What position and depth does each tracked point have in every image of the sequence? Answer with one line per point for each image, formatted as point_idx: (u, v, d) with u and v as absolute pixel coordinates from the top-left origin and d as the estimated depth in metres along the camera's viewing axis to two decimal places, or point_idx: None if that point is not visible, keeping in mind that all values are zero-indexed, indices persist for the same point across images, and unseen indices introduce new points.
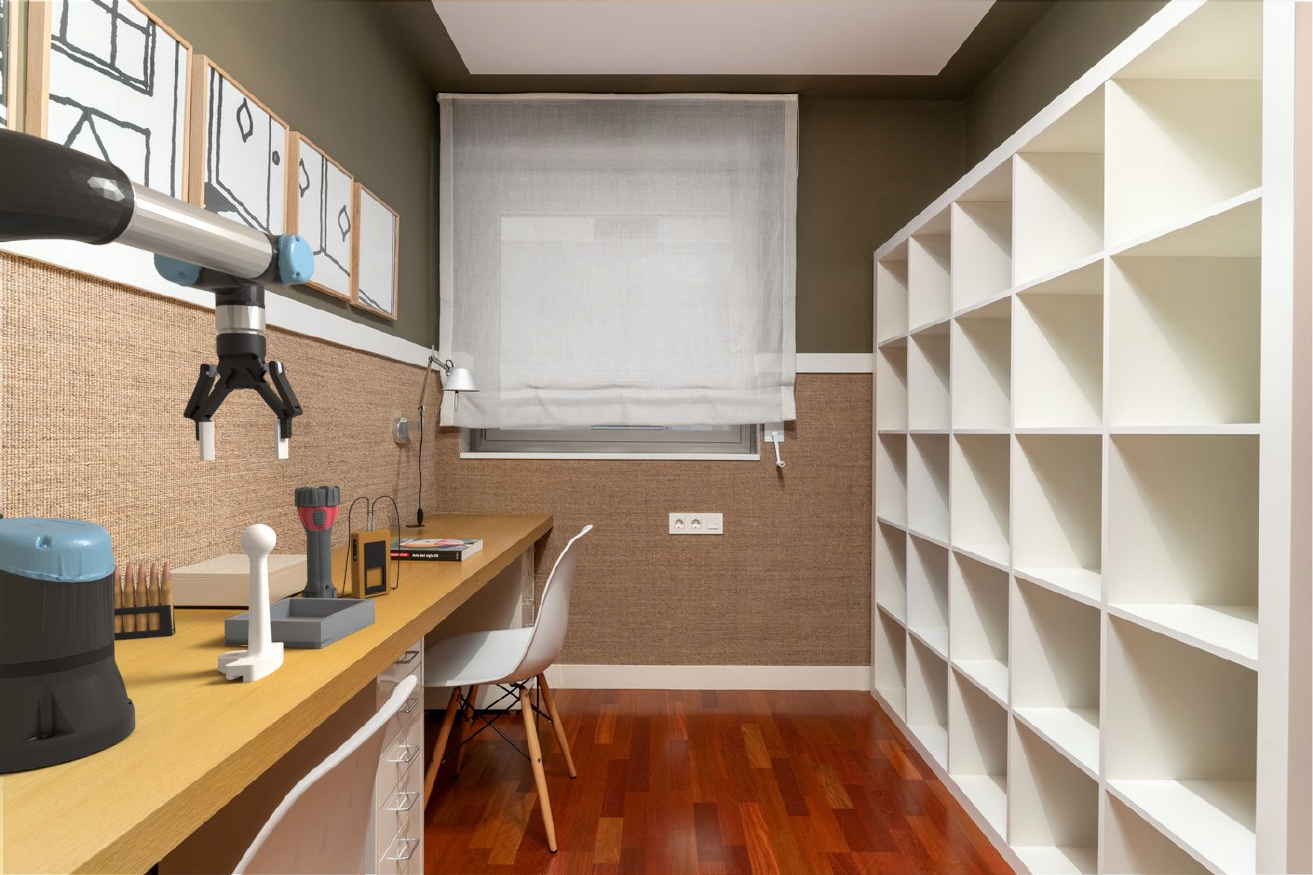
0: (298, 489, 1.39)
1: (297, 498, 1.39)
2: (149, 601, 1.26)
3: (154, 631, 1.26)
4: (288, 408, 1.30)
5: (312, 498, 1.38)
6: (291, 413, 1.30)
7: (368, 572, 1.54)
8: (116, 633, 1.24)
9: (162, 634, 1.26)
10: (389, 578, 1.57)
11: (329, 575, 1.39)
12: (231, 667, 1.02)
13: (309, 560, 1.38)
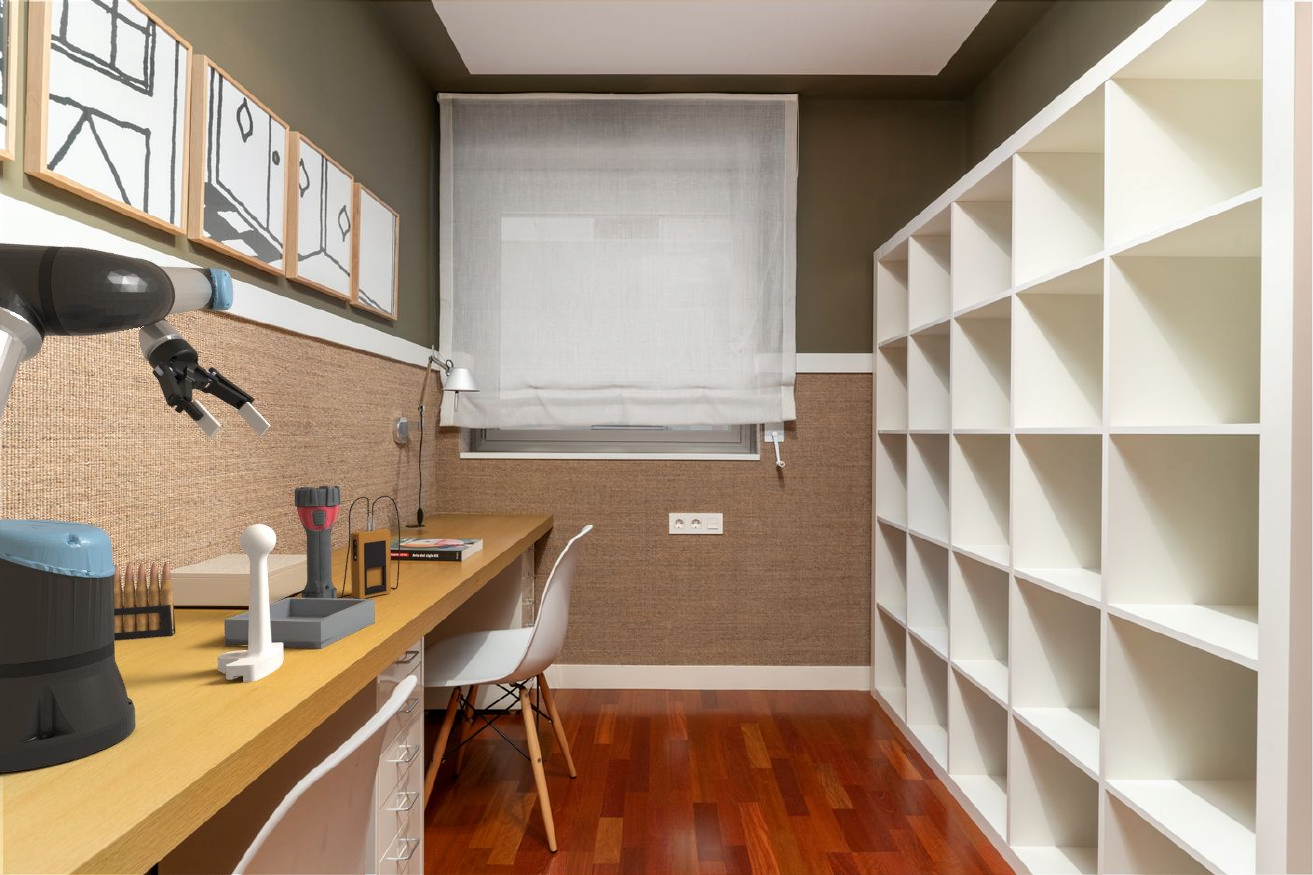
0: (298, 489, 1.39)
1: (297, 498, 1.39)
2: (149, 601, 1.26)
3: (154, 631, 1.26)
4: (248, 396, 1.53)
5: (312, 498, 1.38)
6: (253, 399, 1.54)
7: (368, 572, 1.54)
8: (116, 633, 1.24)
9: (162, 634, 1.26)
10: (389, 578, 1.57)
11: (329, 575, 1.39)
12: (231, 667, 1.02)
13: (309, 560, 1.38)
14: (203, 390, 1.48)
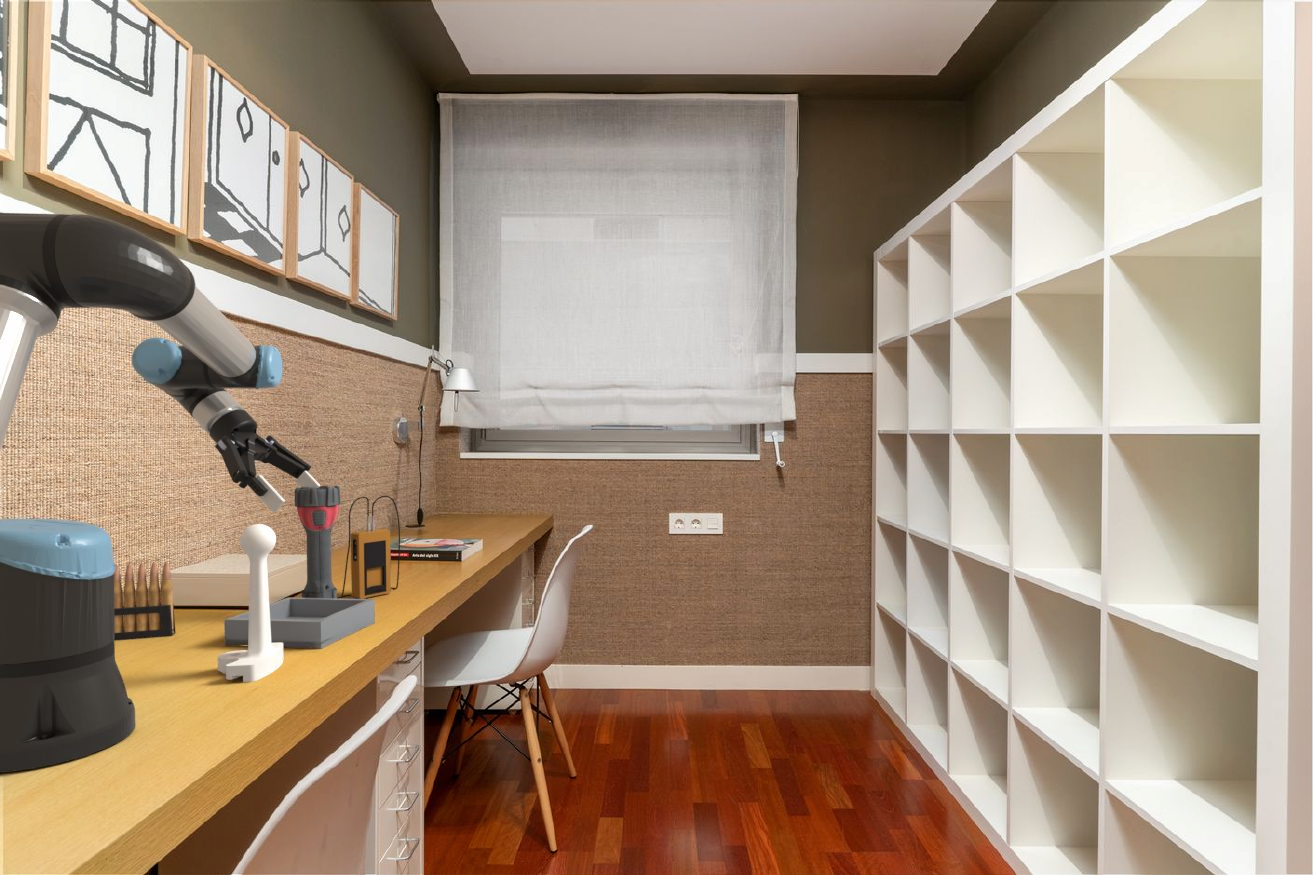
0: (298, 489, 1.39)
1: (297, 498, 1.39)
2: (149, 601, 1.26)
3: (154, 631, 1.26)
4: (305, 464, 1.52)
5: (312, 498, 1.38)
6: (309, 467, 1.53)
7: (368, 572, 1.54)
8: (116, 633, 1.24)
9: (162, 634, 1.26)
10: (389, 578, 1.57)
11: (329, 575, 1.39)
12: (231, 667, 1.02)
13: (309, 560, 1.38)
14: (262, 460, 1.47)
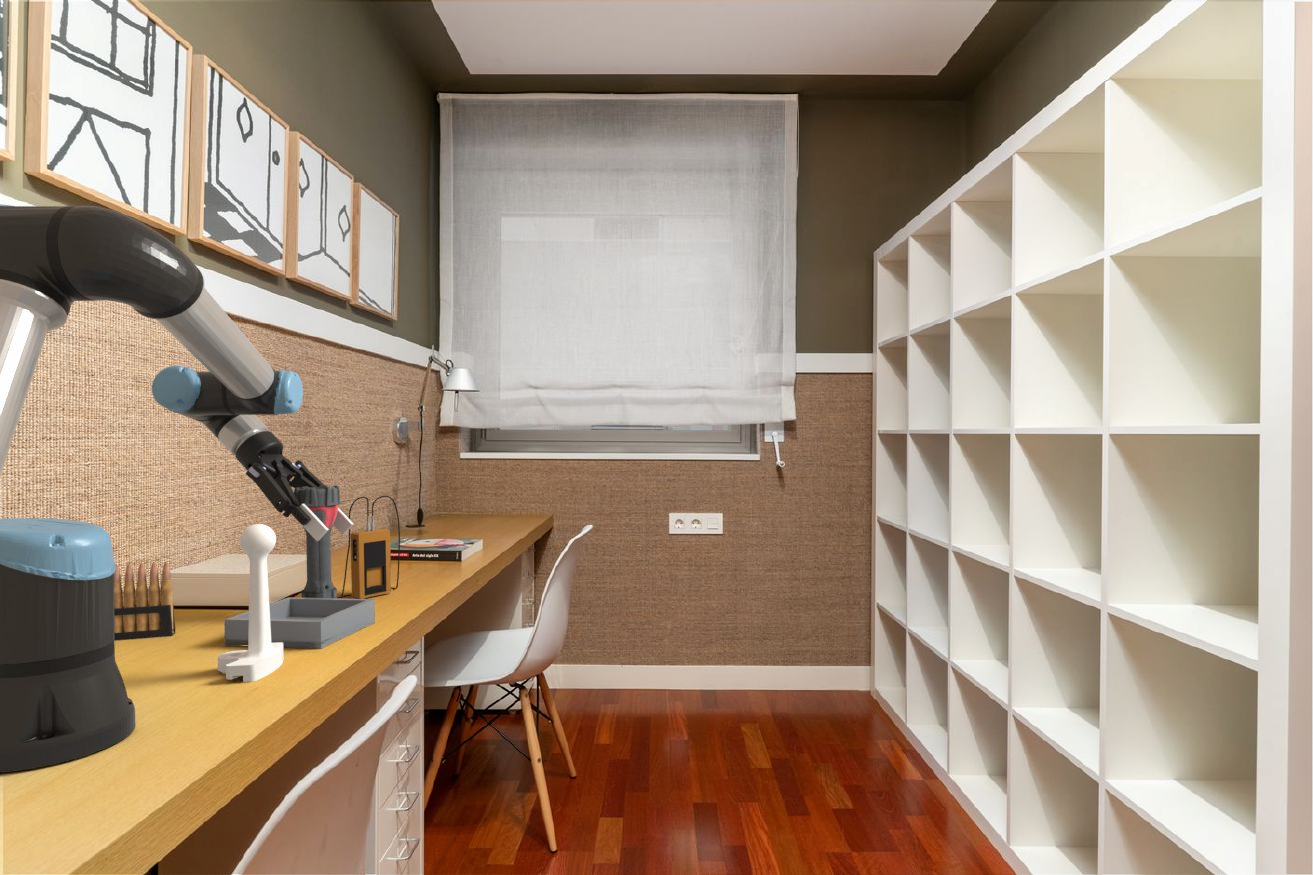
0: (297, 489, 1.39)
1: None
2: (149, 601, 1.26)
3: (154, 631, 1.26)
4: None
5: (312, 498, 1.38)
6: None
7: (368, 572, 1.54)
8: (116, 633, 1.24)
9: (162, 634, 1.26)
10: (389, 578, 1.57)
11: (329, 575, 1.39)
12: (231, 667, 1.02)
13: (309, 560, 1.38)
14: None
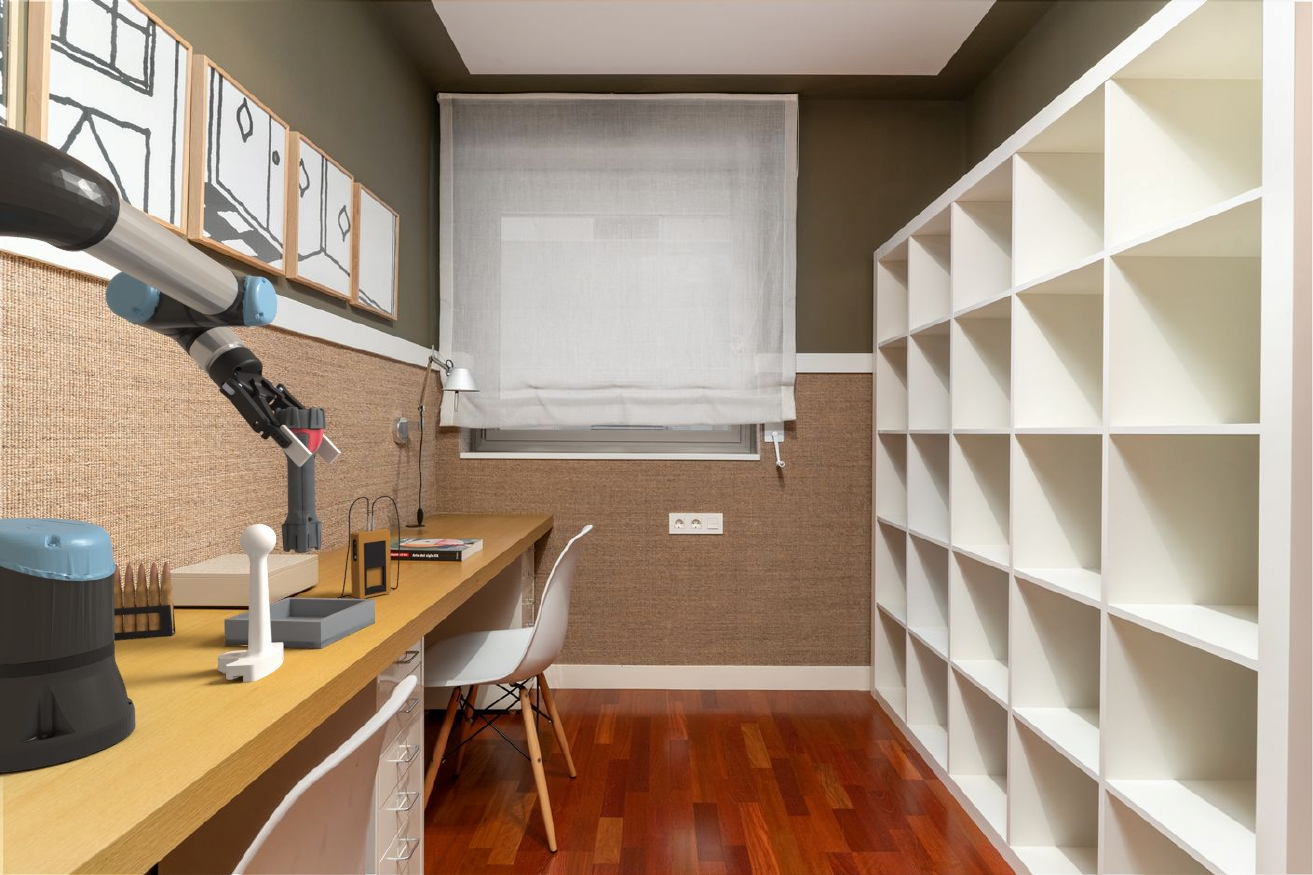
0: (278, 409, 1.24)
1: None
2: (149, 601, 1.26)
3: (154, 631, 1.26)
4: None
5: (293, 418, 1.23)
6: None
7: (368, 572, 1.54)
8: (116, 633, 1.24)
9: (162, 634, 1.26)
10: (389, 578, 1.57)
11: (313, 506, 1.24)
12: (231, 667, 1.02)
13: (290, 488, 1.23)
14: None
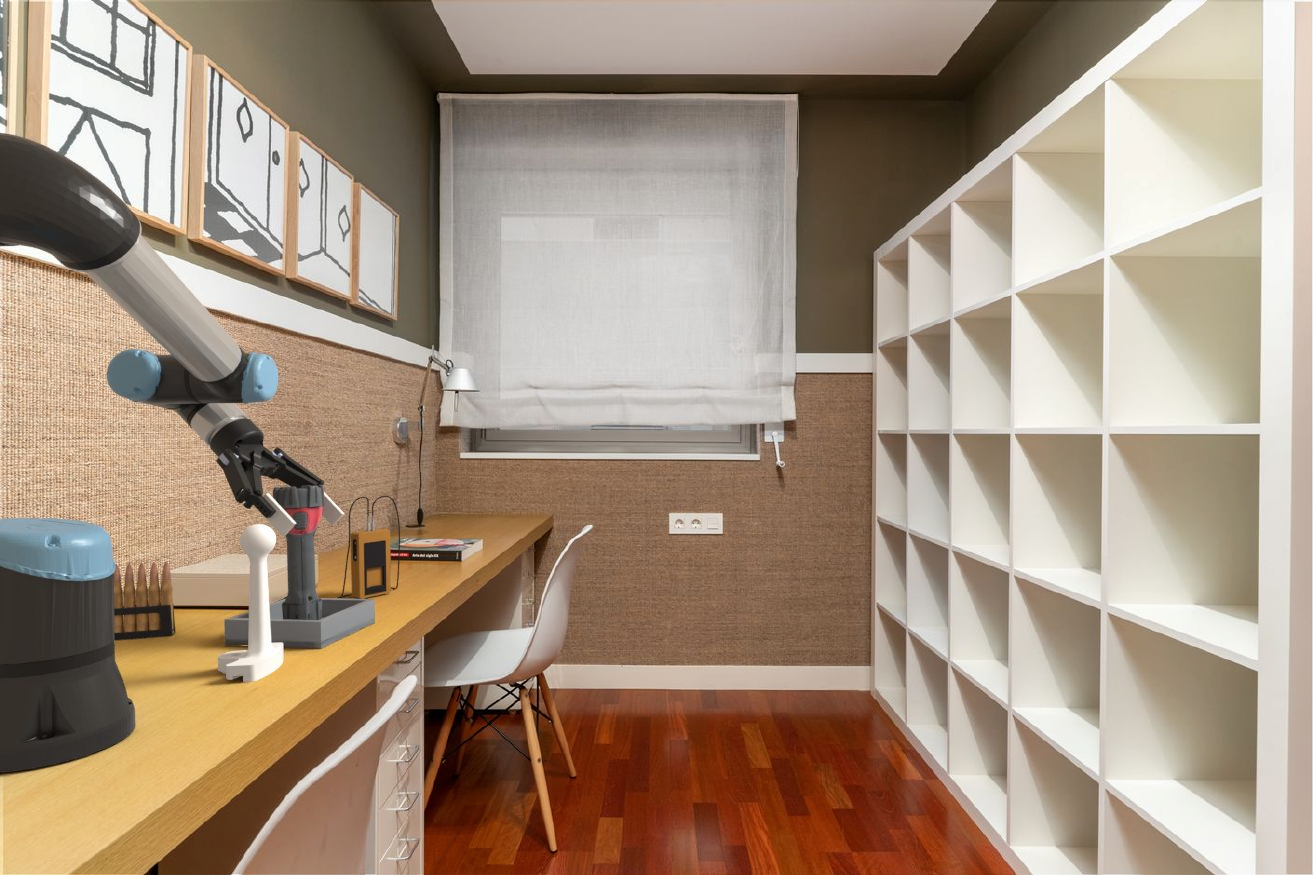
0: (276, 489, 1.24)
1: (275, 499, 1.24)
2: (149, 601, 1.26)
3: (154, 631, 1.26)
4: (317, 479, 1.36)
5: (292, 498, 1.23)
6: None
7: (368, 572, 1.54)
8: (116, 633, 1.24)
9: (162, 634, 1.26)
10: (389, 578, 1.57)
11: (313, 584, 1.24)
12: (231, 667, 1.02)
13: (290, 568, 1.23)
14: (269, 475, 1.30)
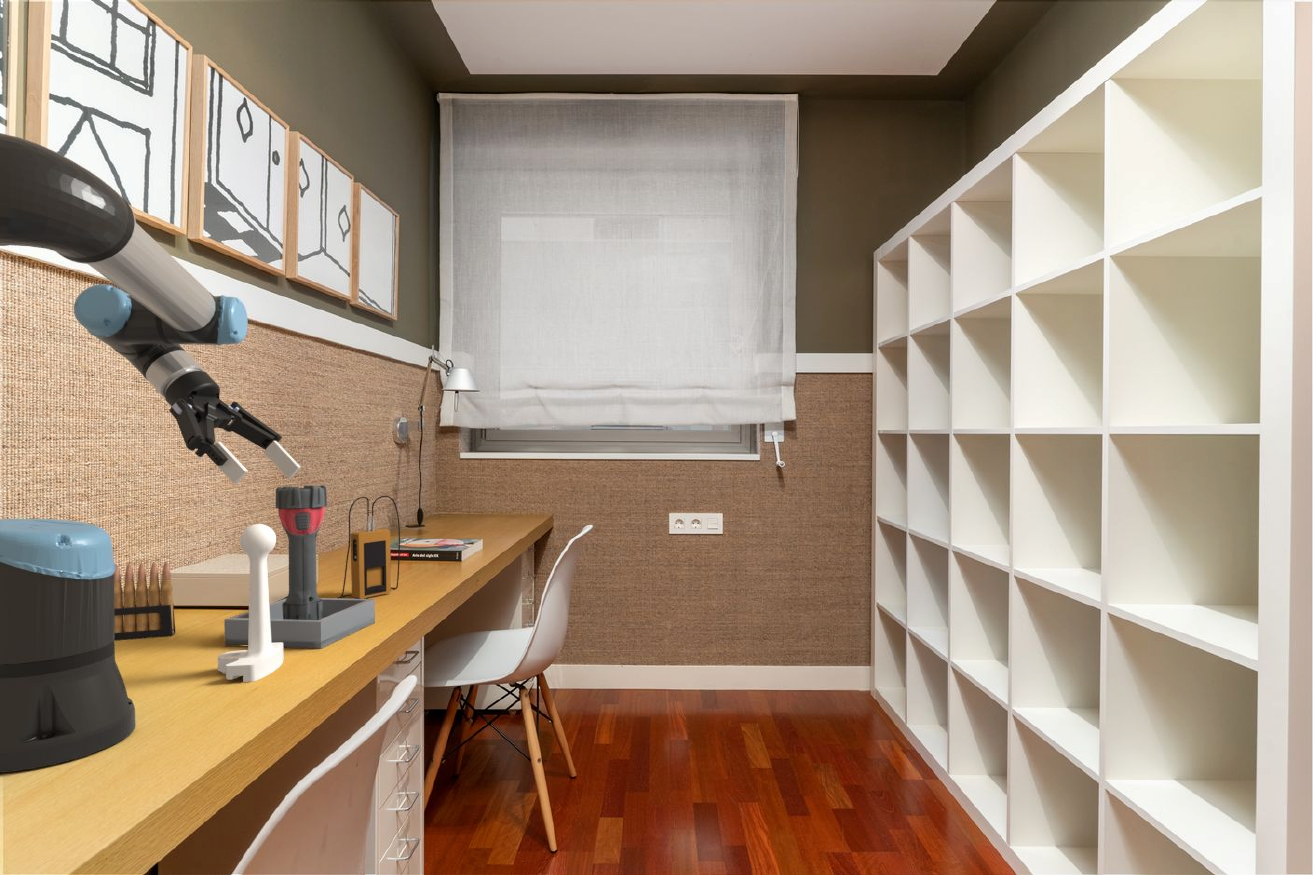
0: (279, 489, 1.24)
1: (278, 499, 1.24)
2: (149, 601, 1.26)
3: (154, 631, 1.26)
4: (275, 433, 1.37)
5: (295, 499, 1.23)
6: None
7: (368, 572, 1.54)
8: (116, 633, 1.24)
9: (162, 634, 1.26)
10: (389, 578, 1.57)
11: (313, 585, 1.24)
12: (231, 667, 1.02)
13: (291, 568, 1.23)
14: (225, 428, 1.31)
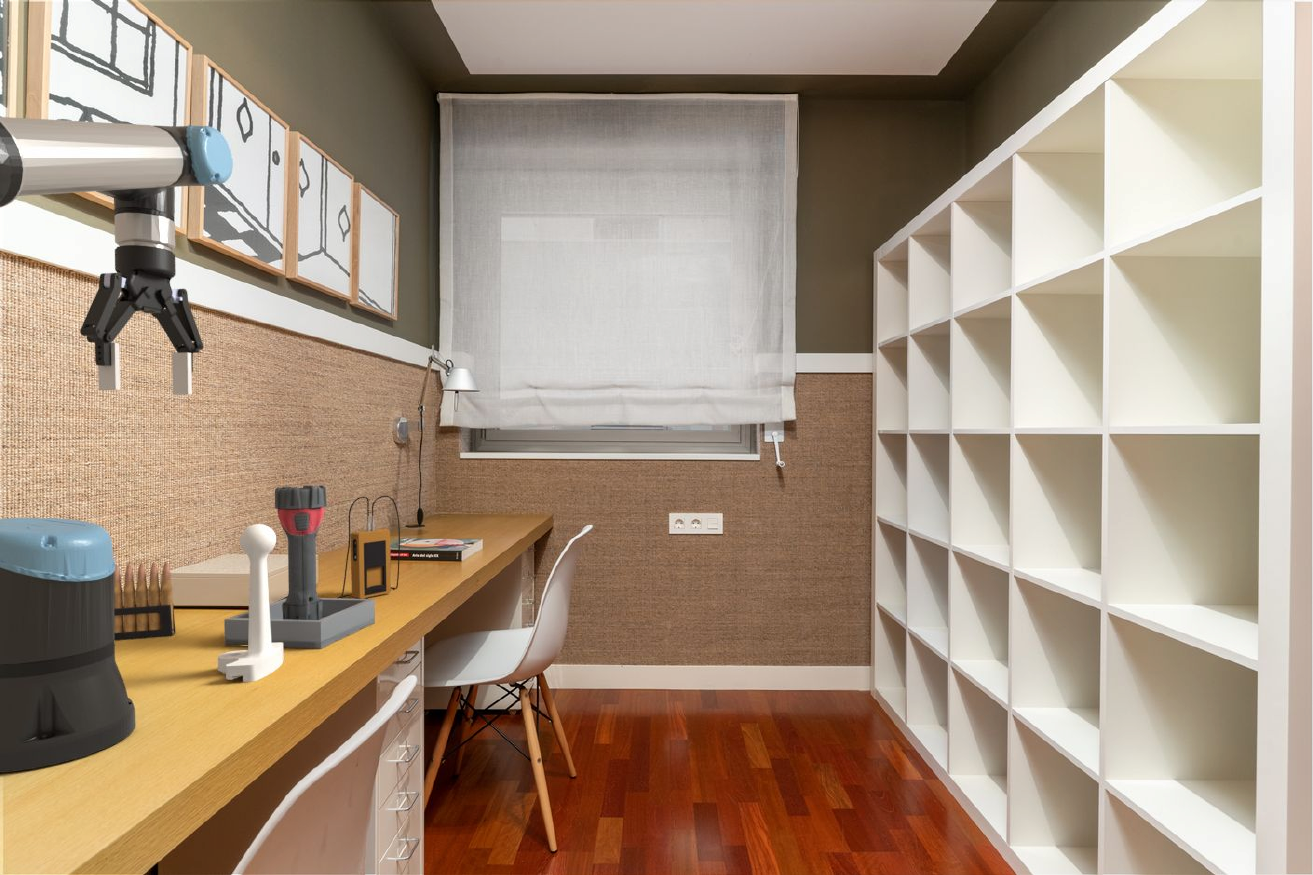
0: (278, 489, 1.24)
1: (277, 499, 1.24)
2: (149, 601, 1.26)
3: (154, 631, 1.26)
4: (198, 342, 1.25)
5: (294, 499, 1.23)
6: (201, 348, 1.25)
7: (368, 572, 1.54)
8: (116, 633, 1.24)
9: (162, 634, 1.26)
10: (389, 578, 1.57)
11: (313, 585, 1.24)
12: (231, 667, 1.02)
13: (291, 569, 1.23)
14: None
